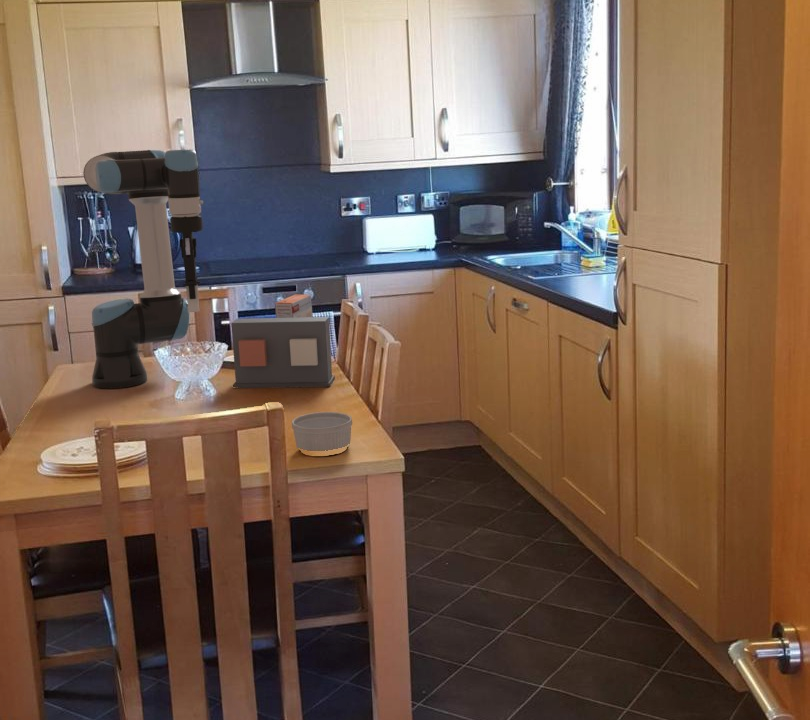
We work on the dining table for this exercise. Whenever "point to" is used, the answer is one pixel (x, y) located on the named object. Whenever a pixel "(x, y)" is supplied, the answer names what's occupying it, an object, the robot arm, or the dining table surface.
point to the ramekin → (322, 431)
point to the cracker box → (294, 307)
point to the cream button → (303, 352)
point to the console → (283, 352)
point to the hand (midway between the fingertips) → (193, 311)
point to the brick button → (252, 352)
